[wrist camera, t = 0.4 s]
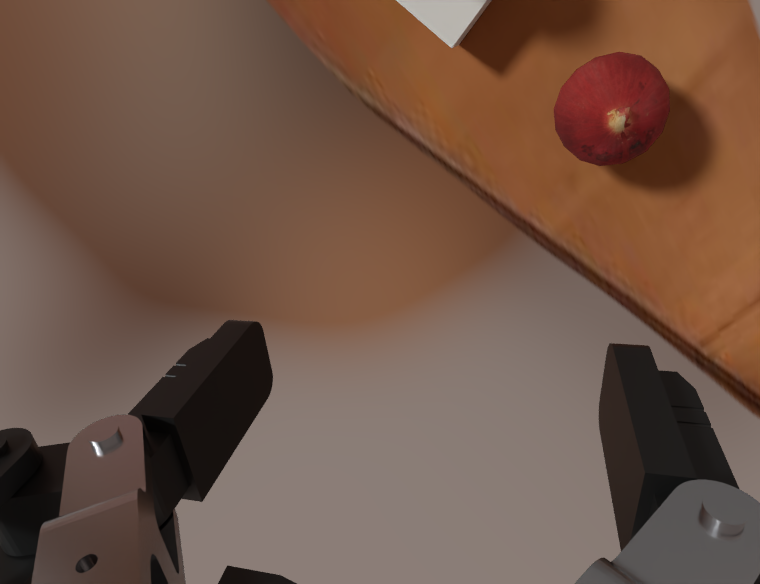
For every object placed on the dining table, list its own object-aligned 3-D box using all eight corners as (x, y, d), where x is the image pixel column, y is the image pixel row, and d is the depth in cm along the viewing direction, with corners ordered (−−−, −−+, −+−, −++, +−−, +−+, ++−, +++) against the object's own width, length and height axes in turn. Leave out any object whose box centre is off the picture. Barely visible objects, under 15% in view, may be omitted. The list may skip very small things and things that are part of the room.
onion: (671, 116, 32) (709, 144, 25) (579, 166, 34) (591, 205, 27) (628, 27, 30) (657, 32, 23) (535, 87, 33) (537, 107, 26)
